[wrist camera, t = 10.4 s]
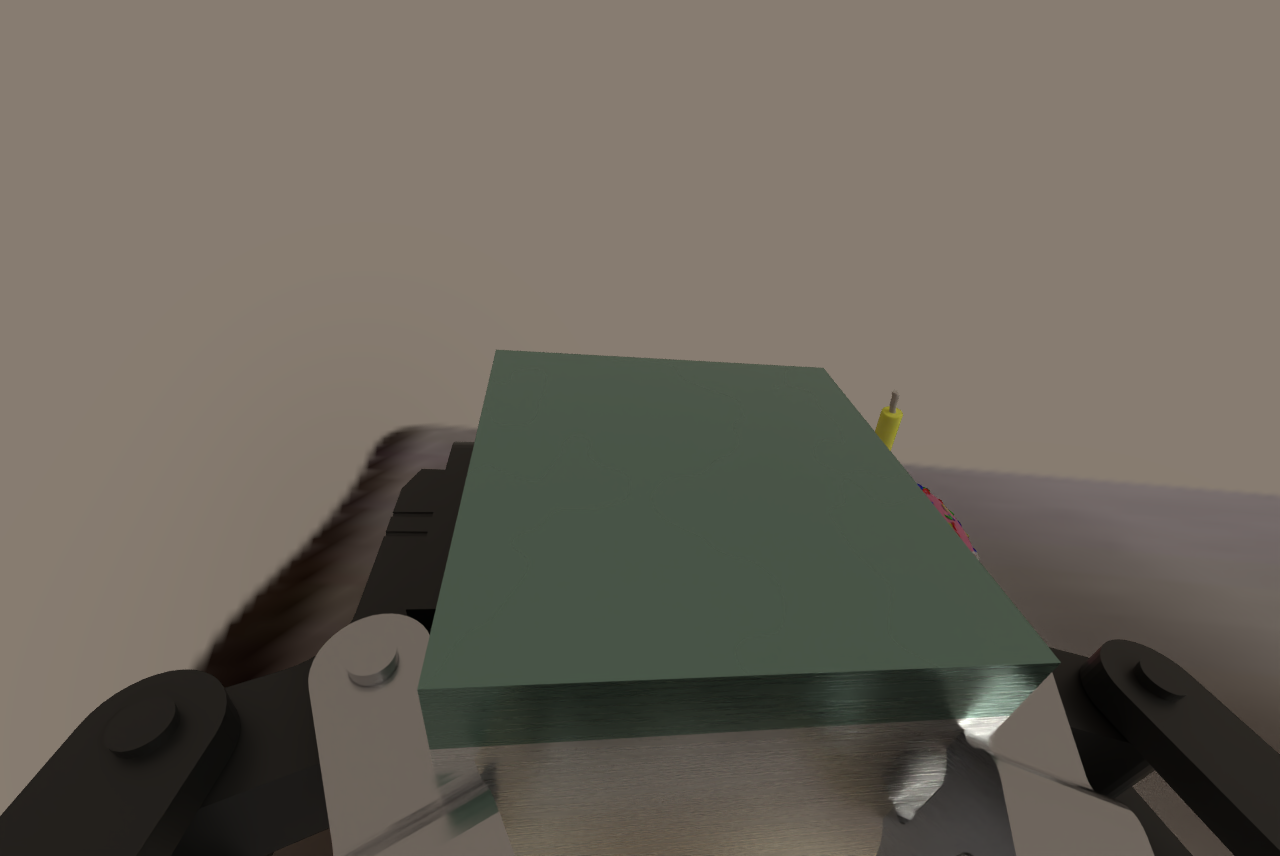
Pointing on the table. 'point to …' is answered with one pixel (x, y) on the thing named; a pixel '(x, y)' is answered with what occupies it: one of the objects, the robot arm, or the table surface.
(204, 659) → the table surface
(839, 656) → the tea tin
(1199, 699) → the robot arm
